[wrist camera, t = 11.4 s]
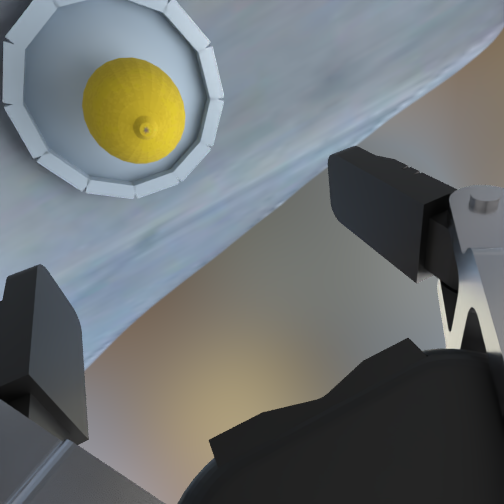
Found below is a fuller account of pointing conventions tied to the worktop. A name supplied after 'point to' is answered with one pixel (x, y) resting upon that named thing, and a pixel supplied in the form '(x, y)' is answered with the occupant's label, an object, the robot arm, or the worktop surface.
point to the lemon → (133, 110)
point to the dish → (80, 70)
